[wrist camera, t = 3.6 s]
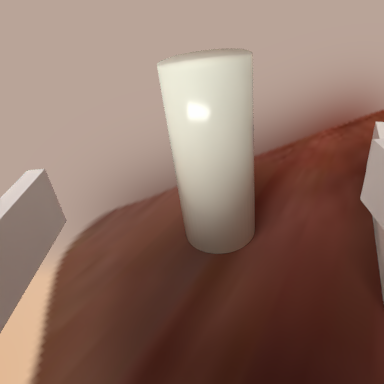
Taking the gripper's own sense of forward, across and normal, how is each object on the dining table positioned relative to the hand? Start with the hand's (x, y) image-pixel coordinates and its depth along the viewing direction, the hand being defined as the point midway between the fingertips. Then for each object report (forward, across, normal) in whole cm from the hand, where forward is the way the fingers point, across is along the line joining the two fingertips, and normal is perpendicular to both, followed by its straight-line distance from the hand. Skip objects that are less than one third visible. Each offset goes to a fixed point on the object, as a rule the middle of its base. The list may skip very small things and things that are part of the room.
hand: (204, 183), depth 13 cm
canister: (+10, 0, -11) cm, 15 cm away
